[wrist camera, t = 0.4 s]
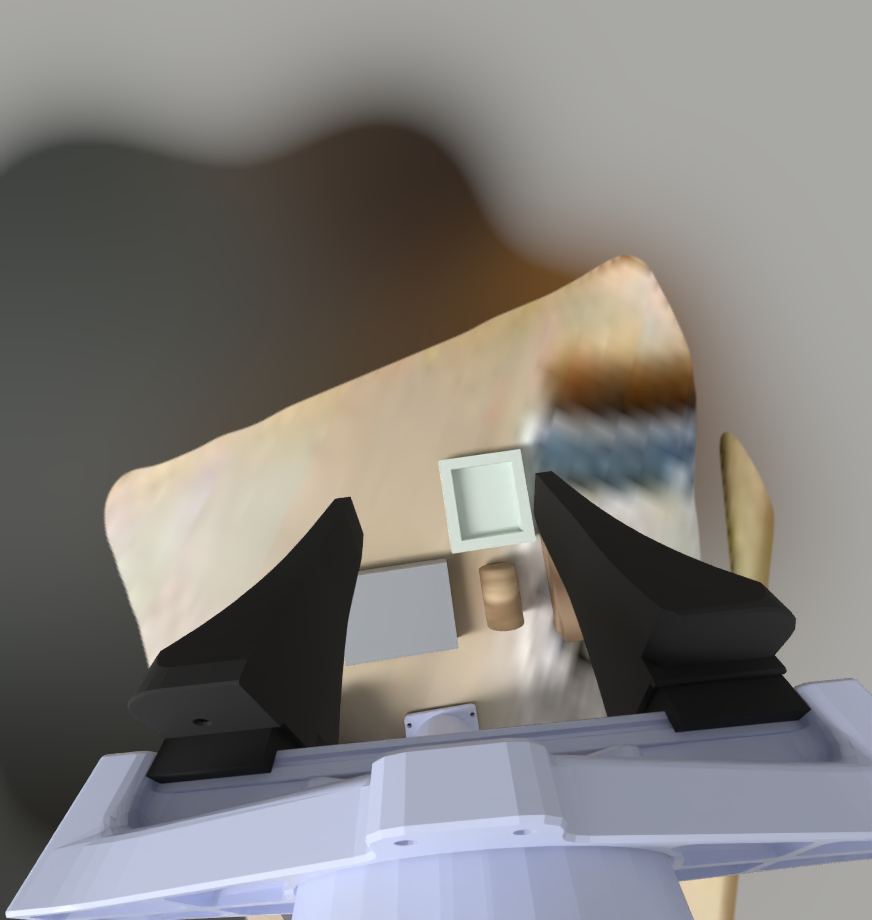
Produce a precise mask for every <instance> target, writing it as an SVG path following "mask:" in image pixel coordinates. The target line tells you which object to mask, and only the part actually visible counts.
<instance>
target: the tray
mask: <svg viewBox="0 0 872 920" xmlns="http://www.w3.org/2000/svg"><path fill="white" fill-rule="evenodd" d="M438 464H439V471H440V478H441V485H442V491H443V498H444V505H445V512H446V519H447V526H448V533H449V540H450V547H451V551H452V554H453V553H460V552H466V551H473V550H479V549H486V548H493V547H499V546H506V545H512V544H519V543H526V542H532V541H536V538H535V532H534V526H533V520H532V514H531V509H530V503H529V497H528V491H527V485H526V479H525V474H524V468H523V462H522V456H521V450H520V449H517V450H510V451H503V452H496V453H489V454H482V455H475V456H467V457H460V458H453V459H446V460H439V462H438Z"/></svg>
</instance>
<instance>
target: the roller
mask: <svg viewBox="0 0 872 920" xmlns="http://www.w3.org/2000/svg"><path fill="white" fill-rule="evenodd" d="M479 573H480V580H481V586H482V593H483V600H484V606H485V613H486V619H487V625H488V627H489V628H490V629H493V630H496V631H510V630H515V629H517V628H520V627H521V626H523V624H524V618H523V612H522V605H521V599H520V593H519V587H518V581H517V575H516V569H515V565H514V564H512V563H495V564H489V565H485V566H482V567H481V568H479Z"/></svg>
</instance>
